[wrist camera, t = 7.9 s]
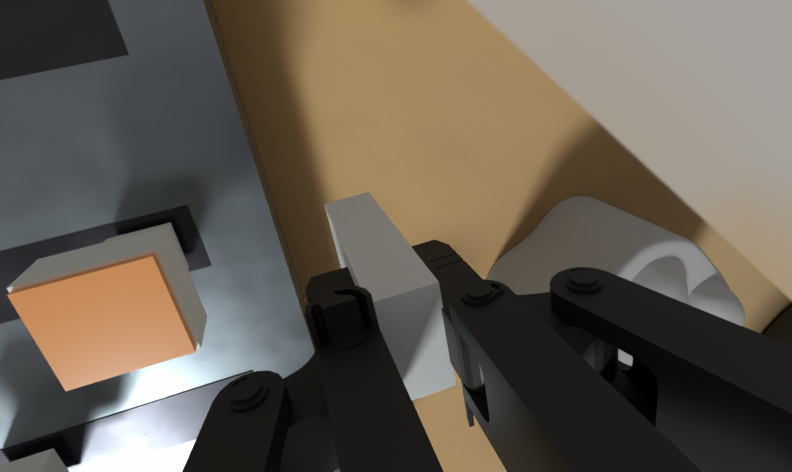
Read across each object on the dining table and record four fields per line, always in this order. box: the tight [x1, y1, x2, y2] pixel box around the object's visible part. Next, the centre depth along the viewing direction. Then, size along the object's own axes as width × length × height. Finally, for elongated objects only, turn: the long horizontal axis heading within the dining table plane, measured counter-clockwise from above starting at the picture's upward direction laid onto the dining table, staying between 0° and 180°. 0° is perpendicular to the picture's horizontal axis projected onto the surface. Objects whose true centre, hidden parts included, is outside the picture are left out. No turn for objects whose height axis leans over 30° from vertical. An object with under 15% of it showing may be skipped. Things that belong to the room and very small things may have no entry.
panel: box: [0, 0, 315, 472], centre depth 20 cm, size 18×25×4 cm
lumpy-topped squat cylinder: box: [486, 196, 745, 366], centre depth 27 cm, size 10×13×9 cm
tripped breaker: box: [7, 222, 207, 391], centre depth 16 cm, size 4×4×6 cm
